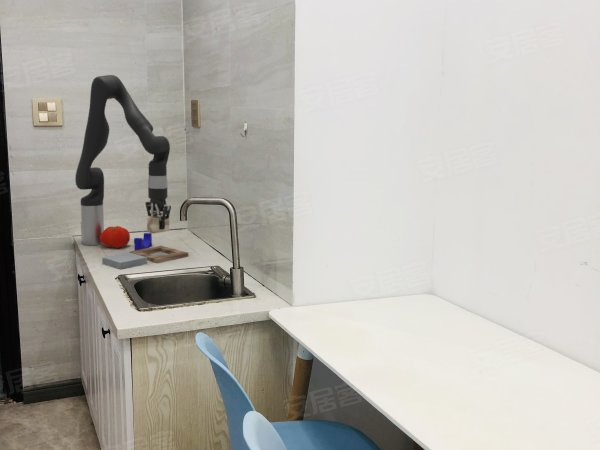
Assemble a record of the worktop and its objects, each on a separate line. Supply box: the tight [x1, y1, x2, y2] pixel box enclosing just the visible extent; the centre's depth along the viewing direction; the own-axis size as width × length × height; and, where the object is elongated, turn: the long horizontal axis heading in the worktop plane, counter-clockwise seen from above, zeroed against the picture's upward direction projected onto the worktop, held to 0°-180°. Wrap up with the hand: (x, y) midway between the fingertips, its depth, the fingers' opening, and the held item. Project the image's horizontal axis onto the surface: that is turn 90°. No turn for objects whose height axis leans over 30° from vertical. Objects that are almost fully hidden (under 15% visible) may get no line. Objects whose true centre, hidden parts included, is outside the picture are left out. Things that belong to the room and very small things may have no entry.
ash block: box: [146, 214, 170, 234], centre depth 252 cm, size 4×8×6 cm, turn 140°
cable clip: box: [133, 232, 153, 251], centre depth 265 cm, size 12×4×6 cm, turn 172°
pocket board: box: [129, 245, 189, 264], centre depth 254 cm, size 18×16×2 cm
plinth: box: [101, 251, 148, 270], centre depth 241 cm, size 12×12×2 cm
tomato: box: [100, 225, 131, 249], centre depth 267 cm, size 13×12×8 cm
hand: (158, 228), depth 252 cm, fingers closed on ash block, 4 cm apart
